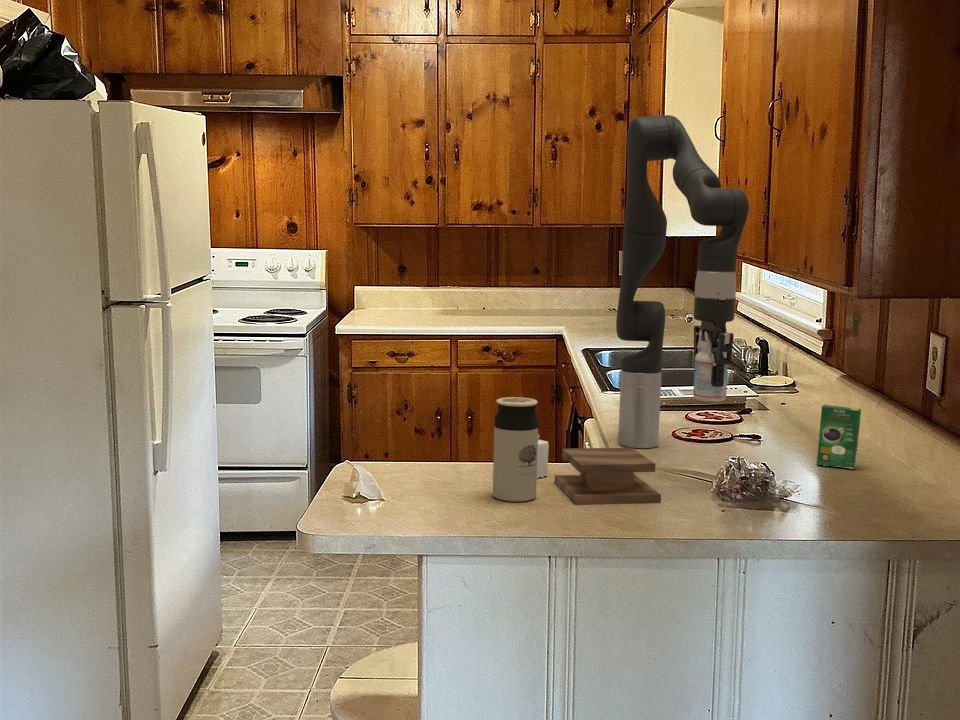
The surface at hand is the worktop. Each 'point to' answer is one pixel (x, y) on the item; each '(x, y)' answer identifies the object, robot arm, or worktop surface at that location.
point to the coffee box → (838, 436)
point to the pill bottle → (707, 377)
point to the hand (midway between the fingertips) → (710, 383)
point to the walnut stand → (607, 476)
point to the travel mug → (515, 450)
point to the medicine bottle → (542, 456)
